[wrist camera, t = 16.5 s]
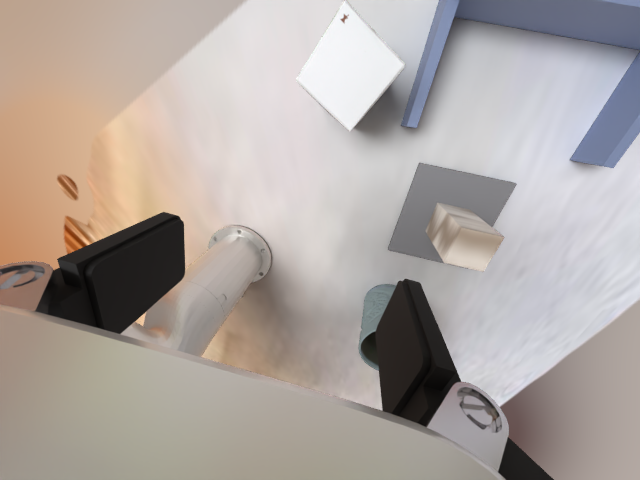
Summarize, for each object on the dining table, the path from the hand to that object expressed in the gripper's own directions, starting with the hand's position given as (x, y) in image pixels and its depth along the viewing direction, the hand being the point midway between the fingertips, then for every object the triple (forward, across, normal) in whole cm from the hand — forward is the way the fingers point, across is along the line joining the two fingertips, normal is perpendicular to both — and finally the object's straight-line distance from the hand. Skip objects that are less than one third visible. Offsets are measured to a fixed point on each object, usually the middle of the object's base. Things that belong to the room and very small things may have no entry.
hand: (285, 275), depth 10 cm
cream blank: (+30, -19, +4) cm, 36 cm away
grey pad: (+30, -19, +3) cm, 36 cm away
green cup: (+31, -16, +23) cm, 42 cm away
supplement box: (+31, +1, -11) cm, 32 cm away
